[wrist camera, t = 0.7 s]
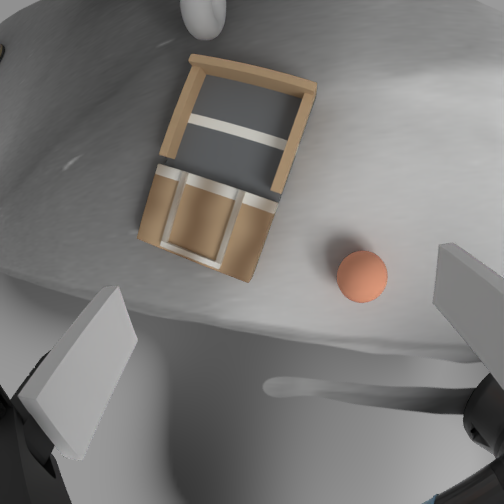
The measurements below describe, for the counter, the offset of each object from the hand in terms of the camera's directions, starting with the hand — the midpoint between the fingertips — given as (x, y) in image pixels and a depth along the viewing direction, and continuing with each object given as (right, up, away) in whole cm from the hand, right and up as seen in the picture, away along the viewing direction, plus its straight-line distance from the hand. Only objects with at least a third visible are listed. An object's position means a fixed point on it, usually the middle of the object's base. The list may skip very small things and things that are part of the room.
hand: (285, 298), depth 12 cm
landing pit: (-3, +16, +22) cm, 27 cm away
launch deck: (-6, +5, +25) cm, 26 cm away
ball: (+10, -1, +20) cm, 22 cm away
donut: (-6, +31, +21) cm, 38 cm away
